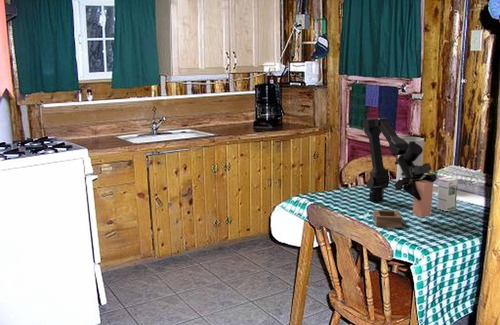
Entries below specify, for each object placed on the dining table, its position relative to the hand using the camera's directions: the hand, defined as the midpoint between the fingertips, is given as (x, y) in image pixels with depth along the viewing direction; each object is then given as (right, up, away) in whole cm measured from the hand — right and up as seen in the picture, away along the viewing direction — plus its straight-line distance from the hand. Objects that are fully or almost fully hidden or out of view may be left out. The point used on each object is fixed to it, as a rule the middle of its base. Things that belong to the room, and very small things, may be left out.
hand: (425, 199), depth 212 cm
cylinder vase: (+12, +3, +61) cm, 62 cm away
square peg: (-1, -7, +3) cm, 7 cm away
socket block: (-15, -10, +2) cm, 18 cm away
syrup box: (+16, -6, +20) cm, 26 cm away
